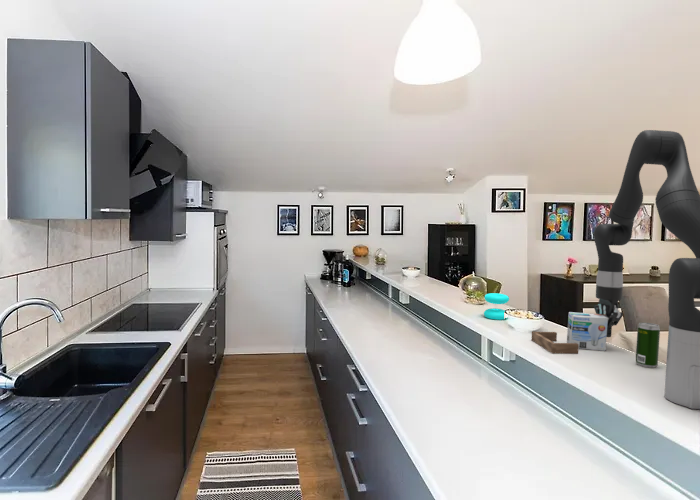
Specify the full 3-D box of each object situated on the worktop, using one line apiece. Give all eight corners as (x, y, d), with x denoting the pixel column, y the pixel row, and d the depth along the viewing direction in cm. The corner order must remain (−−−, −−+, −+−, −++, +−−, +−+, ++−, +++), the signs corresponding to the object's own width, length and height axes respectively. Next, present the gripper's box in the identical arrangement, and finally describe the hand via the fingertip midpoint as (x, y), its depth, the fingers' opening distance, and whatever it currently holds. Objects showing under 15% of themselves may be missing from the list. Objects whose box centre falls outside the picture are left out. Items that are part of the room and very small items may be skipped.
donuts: (486, 296, 184) (482, 292, 194) (485, 319, 185) (482, 314, 195) (511, 297, 183) (506, 293, 193) (510, 321, 184) (505, 315, 194)
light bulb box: (570, 348, 145) (572, 315, 144) (565, 342, 151) (567, 311, 150) (606, 351, 142) (608, 318, 141) (600, 345, 149) (602, 313, 148)
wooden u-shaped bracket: (578, 353, 139) (578, 344, 139) (552, 353, 139) (552, 343, 139) (554, 340, 154) (555, 331, 154) (531, 340, 154) (531, 331, 154)
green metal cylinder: (652, 369, 125) (655, 327, 124) (631, 364, 130) (634, 323, 129) (660, 366, 128) (663, 325, 127) (640, 361, 133) (643, 321, 132)
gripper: (633, 288, 139) (630, 342, 140) (608, 281, 152) (606, 331, 153) (609, 287, 139) (606, 342, 140) (587, 281, 152) (584, 331, 153)
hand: (606, 336), depth 147 cm, fingers closed
